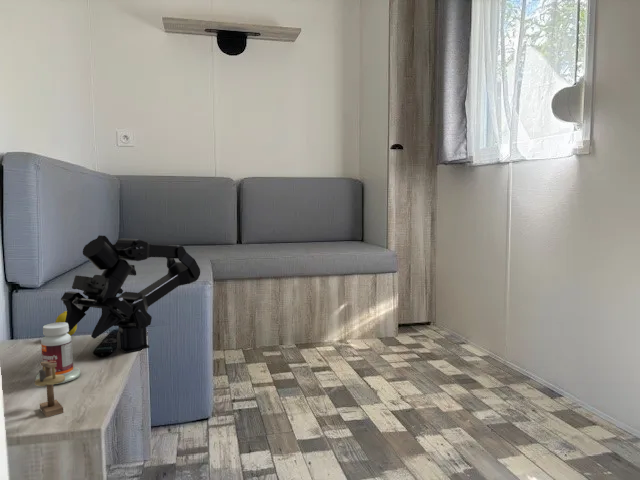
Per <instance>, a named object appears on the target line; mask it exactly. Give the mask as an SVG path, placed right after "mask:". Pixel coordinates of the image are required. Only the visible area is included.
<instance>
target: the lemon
mask: <svg viewBox="0 0 640 480" xmlns="http://www.w3.org/2000/svg"><path fill="white" fill-rule="evenodd" d="M66 315H67V310H66V311H65V310H64V311H63V312H62V313H60V314H59V315H58V316H57V317H56V318H55V323H57V322H65V320H66ZM77 329H78V324H77V325H76V326H75V327H74V328H73V329H72V330H71V331H70V332H69V333H67V334H69V335H70V336H71V337H72V336H73V335H74V334H75V332H76V331H77Z"/></svg>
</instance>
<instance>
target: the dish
mask: <svg viewBox="0 0 640 480" xmlns="http://www.w3.org/2000/svg"><path fill="white" fill-rule="evenodd" d="M80 376H81V370H80V368H78V367H75V366H73V372H72V373H70V374H68V375H66V376H65V380H64V381H63V382H61V383H58V384H57V385H59V384H65V383H67V382H71V381H73V380H76V379H77V378H79V377H80ZM39 378H40V376H39V373H38V374H37V375H35V380H37V379H39Z"/></svg>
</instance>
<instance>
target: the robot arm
mask: <svg viewBox="0 0 640 480" xmlns="http://www.w3.org/2000/svg"><path fill="white" fill-rule="evenodd" d="M82 255H83V256H84V257H85V258H86V259H87V260H88V261H89V262H91V264H92V265H94V267H96V269H98V270H101V271H102V273H101V274H94V275H93V277H92V276H86V275H85V276H83V275H75V276H74V278H73V279H74V280H73V281H72V285H71V289H73V290H79V291H83V292H82V294H81V293H80V292H78V291H66V292H63V295H62V296H61V298H60V301H62V304H63V305H64V306H65V307H66V308H65V309H66V311H67V315H66V320H65V322H66V323H68V326H69V332H70V331H71V330H72V329H73V328H74V327H75V326H76V325H77V326H78V324H79V323H80V321H81V320H82V319H83V318H84V317H85V316H86V315H87V313H86V312H87V311H89V309H90V308H94V309H101V315H100V317H99V318H98V321H97V322H96V324H95V327H94V329H93V330H92V333H91V338H92V339H96V338H98V337H99V336H101V335H102V334H104V333H105V332H107V330H109V329H110V328H112V327H118V331H117V333H116V340H117V341H116V342H117V347H116V348H118V349H119V350H120V351H122V352H123V353H125V354H126V353H132V352H136V351H140V350H146V349H149V348H150V344H148V340H147V328H148V326H150V325H151V324H152V319H153V318H152V315H150V313H148V310H149V307H151V306H152V305H153V304H155V303H157V302H158V301H159V300H161V299H162V298H164V297H165V296H166V295H168V294H169V293H170V292H173V291H174V290H175V289H177V288H178V287H180V286H185V285H190V284H192V283H195V282H197V281H199V277H200V275H201V268H200V266H199V265H198V263H197V260H196V259H195V258H194V257H192V256H191V255H190V254H189V253H188V252H187V250H186V249H185V247H184V246H183V245H181V244H152V243H149V242H148V241H146V240H142V239H137V238H118V239H117V240H116V242H115V243H112V242H111V241H110V239H109V238H108V237H107V236H106V235H100V234H99V235H98V236H97V237H96V238H95V239H92V240H90V241H89V242H88V243H87V244H85V245H84V246H83V249H82ZM150 258H165V259H166V268H167V269H168V270H167V274H165V275H163V276H162V277H160V278H158V280H156V281H154V282H153V283H151V284H150V285H148V286H146V287H144V289H142V290H140V291H138V292H132V291H124V289H123V288H122V286H123V285H124V284H125V282H126V280H127V278H128V277H129V276H137V270H136V269H135V266H136V265H134V264H130V263H129V262H128V261H131V262H140V261H145V260H147V259H150ZM175 259H177V260H179V261H176V260H175ZM119 294H120V295H119ZM117 295H119V296H117ZM69 332H67V333H69Z"/></svg>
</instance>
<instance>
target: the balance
mask: <svg viewBox="0 0 640 480" xmlns="http://www.w3.org/2000/svg"><path fill="white" fill-rule="evenodd" d="M40 366H41V367H42V369H40V370H39V373H38V374H39V376H40V378H39V379H37V380H36V379H35V380H34V385H35V386H37V387H44V386H46V399H47V400H46V401H44V402H40V403H39V409H40V411H41V412H42V414H43V415H44V416H45V417H46V418H48V417H52V416H56V415H59V414H63V413H64V407H63V406H62V404H61V403H60V402H59V400H57V399H55V389H54V385H59V384H58V383H61V382H63V381H64V380H65V376H64V375H55V367H57V365H56V363H52V362H47V361H45V362H42V361H41V362H40ZM61 384H62V383H61Z"/></svg>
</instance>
